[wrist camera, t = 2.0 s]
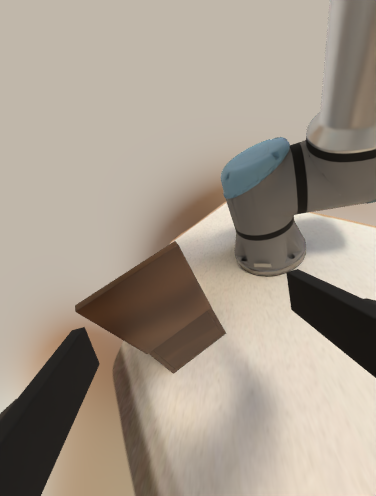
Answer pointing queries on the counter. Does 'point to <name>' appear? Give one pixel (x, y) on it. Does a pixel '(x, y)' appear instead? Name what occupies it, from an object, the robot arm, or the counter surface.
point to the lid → (148, 300)
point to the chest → (189, 341)
